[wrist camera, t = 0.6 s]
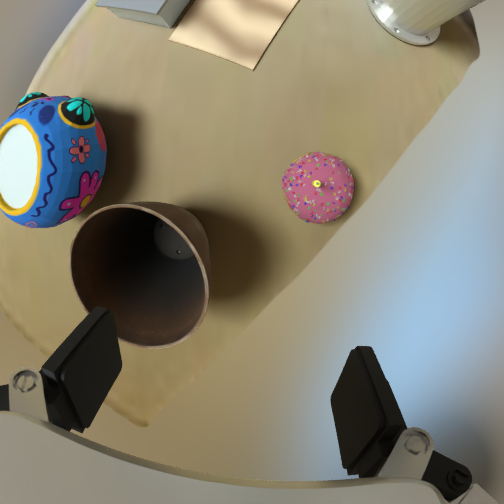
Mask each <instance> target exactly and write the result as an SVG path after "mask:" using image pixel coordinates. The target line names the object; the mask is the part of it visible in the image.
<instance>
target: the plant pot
mask: <svg viewBox="0 0 504 504" xmlns="http://www.w3.org/2000/svg"><path fill="white" fill-rule="evenodd" d="M162 224H163V225H164V226H163V227H162V226H161V225H162ZM177 251H180V252H181V253H180V254H178V253H177ZM69 270H70V277H71V281H72V285H73V288H74V291H75V293H76V295H77V298H78V299H79V301H80V303H81V305H82V307H83V308H84V310H85V311H86V312H87V314H89V313H90V312H91V311H92V310H93V309H94V308H95V307H97V306H98V307H102V308H106V309H109V310H110V311H111V313H112V314H114V317H115V324H116V330H117V337H118V340H120V341H122V342H124V343H127V344H129V345H132V346H136V347H140V348H147V349H160V348H167V347H171V346H174V345H177V344H179V343H181V342H183V341H184V340H186V339H187V338H189V337H190V336H191V335H192V334H193V333H194V332H195V331H196V330H197V329H198V327H199V326H200V324H201V323H202V321H203V319H204V317H205V314H206V311H207V306H208V300H209V292H210V282H211V257H210V248H209V243H208V239H207V236H206V233H205V230H204V228H203V226H202V225H201V223H200V222H199V220H198V219H197V218H196V217H195V216H194V215H193V214H192V213H190V212H189V211H187V210H185V209H183V208H181V207H178V206H175V205H172V204H167V203H161V202H132V203H124V204H117V205H111V206H107V207H104V208H101V209H99V210H97V211H95V212H94V213H92V214H91V215H89V216H88V217H87V218H86V219H85V220H84V221H83V222H82V223H81V225H80V226H79V228H78V229H77V231H76V233H75V235H74V237H73V240H72V243H71V247H70V253H69Z"/></svg>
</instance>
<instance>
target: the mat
mask: <svg viewBox="0 0 504 504" xmlns="http://www.w3.org/2000/svg"><path fill="white" fill-rule="evenodd" d="M297 2H298V0H196V1H195V2H194V3H193V5H192V6H191V7H190V9H189V10H188V12H187V13H186V14H185V16H184V17H183V19H182V20H181V22H180V23H179V25H178V26H177V28H176V29H175V31H174V32H173V34H172V35H171V37H170V39H169V41H172V42H176V43H179V44H182V45H186V46H189V47H192V48H195V49H198V50H201V51H204V52H207V53H210V54H213V55H215V56H218V57H221V58H223V59H226V60H229V61H231V62H234V63H236V64H239V65H241V66H244V67H246V68H248V69H251V70H253V69H254V68H255V66H256V64H257V63H258V61H259V60H260V58H261V56H262V55H263V53H264V51H265V50H266V48H267V47H268V45H269V43H270V42H271V40H272V39H273V37H274V36H275V34H276V33H277V31H278V30H279V28H280V27H281V25H282V24H283V22H284V21H285V19H286V18H287V16H288V15H289V13H290V12H291V10H292V9H293V8H294V6H295V5H296V3H297Z"/></svg>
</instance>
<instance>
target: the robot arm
mask: <svg viewBox="0 0 504 504" xmlns="http://www.w3.org/2000/svg"><path fill="white" fill-rule="evenodd" d="M483 1H485V0H367V2H368V6H369V8H370V10H371V12H372V14H373V16H374V17H375V19H376V20H377V21H378V22H379V23H380V25H381V26H382V27H383V28H385V29H386V30H387V31H388V32H389V33H391V34H392V35H393V36H395V37H397V38H398V39H400V40H402V41H404V42H407V43H410V44H413V45H427V44H430V43H432V42H433V41H435V40H436V39H437V38H438V36H439V34H440V28H441V27H440V25H442V24H444V23H445V22H447V21H449V20H450V19H452V18H454V17H456V16H457V15H459V14H461V13H463V12H465V11H466V10H468V9H470V8H472V7H474V6H476V5H477V4H479V3H481V2H483ZM121 369H122V360H121V354H120V349H119V343H118V337H117V330H116V324H115V317H114V314H112V313H111V311H110V310H109V309H106V308H102V307H98V306H97V307H95V308H94V309H93V310H92V311H91V312H90V313H89V314H88V315H87V316H86V317H85V319H84V320H83V321H82V322H81V323H80V324H79V325H78V326H77V327H76V328H75V329H74V331H73V332H72V333H71V334H70V335H69V336H68V337H67V338H66V339H65V341H64V342H63V343H62V344H61V345H60V346H59V347H58V348H57V350H56V351H55V352H54V353H53V354H52V355H51V357H50V358H49V359H48V360H47V361H46V362H45V364H44V365H43V366H42V369H41V370H40V371H39V372H38V371H37V370H36V369H34V368H30V367H24V368H20V369H18V370H16V371H15V372H14V373H13V374H12V375H11V377H10V379H9V384H7V385H2V386H0V504H498V503H497V502H496V501H495V500H494V499H493V498H492V497H491V496H490V495H488V494H487V493H486V492H485V491H484V490H483V489H482V488H481V487H480V486H479V485H477V484H474V485H472V475H471V473H470V471H469V470H468V468H466V467H465V466H463V465H462V464H459V463H457V462H455V461H453V460H451V459H449V458H447V457H446V456H444V455H442V454H440V453H438V452H436V451H434V450H433V448H434V443H433V439H432V437H431V436H430V434H429V433H428V432H426V431H425V430H423V429H420V428H416V427H412V428H408V429H407V426H406V424H405V421H404V419H403V417H402V414H401V411H400V409H399V407H398V404H397V402H396V399H395V397H394V394H393V392H392V389H391V387H390V385H389V382H388V381H387V380H386V378H385V376H384V373H383V371H382V369H381V367H380V364H379V362H378V360H377V358H376V355H375V353H374V351H373V349H372V347H370V346H357V347H356V348H355V349H353V350H351V352H350V354H349V356H348V359H347V361H346V364H345V366H344V368H343V371H342V373H341V375H340V377H339V380H338V382H337V384H336V386H335V388H334V391H333V393H332V395H331V407H332V412H333V416H334V422H335V427H336V432H337V437H338V443H339V448H340V454H341V460H342V466H343V468H344V469H347V473H348V475H356V474H359V478H357V479H346V480H329V481H271V480H256V479H245V478H235V477H227V476H220V475H213V474H207V473H201V472H196V471H191V470H186V469H181V468H176V467H172V466H168V465H163V464H160V463H156V462H152V461H149V460H145V459H142V458H138V457H135V456H132V455H129V454H126V453H122V452H120V451H117V450H114V449H111V448H109V447H106V446H103V445H101V444H98V443H95V442H93V441H90V440H88V439H85V438H83V437H80V436H78V435H76V434H73V433H71V432H70V430H71V429H74V430H76V431H78V432H80V433H83V431H84V429H85V428H88V427H89V426H90V425H91V423H92V421H93V419H94V417H95V416H96V414H97V412H98V410H99V408H100V406H101V405H102V403H103V401H104V399H105V398H106V396H107V394H108V392H109V390H110V389H111V387H112V385H113V383H114V382H115V380H116V378H117V377H118V375H119V373H120V371H121Z"/></svg>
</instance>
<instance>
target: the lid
mask: <svg viewBox="0 0 504 504" xmlns="http://www.w3.org/2000/svg"><path fill="white" fill-rule="evenodd" d="M167 2H168V0H99V1H98V2H97V4H96V6H97V7H107V8H116V9H123V10H130V11H136V12H142V13H148V14H153V15H159V13H160V12H161V10H162V9H163V7H164V6H165V5H166V3H167Z"/></svg>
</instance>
